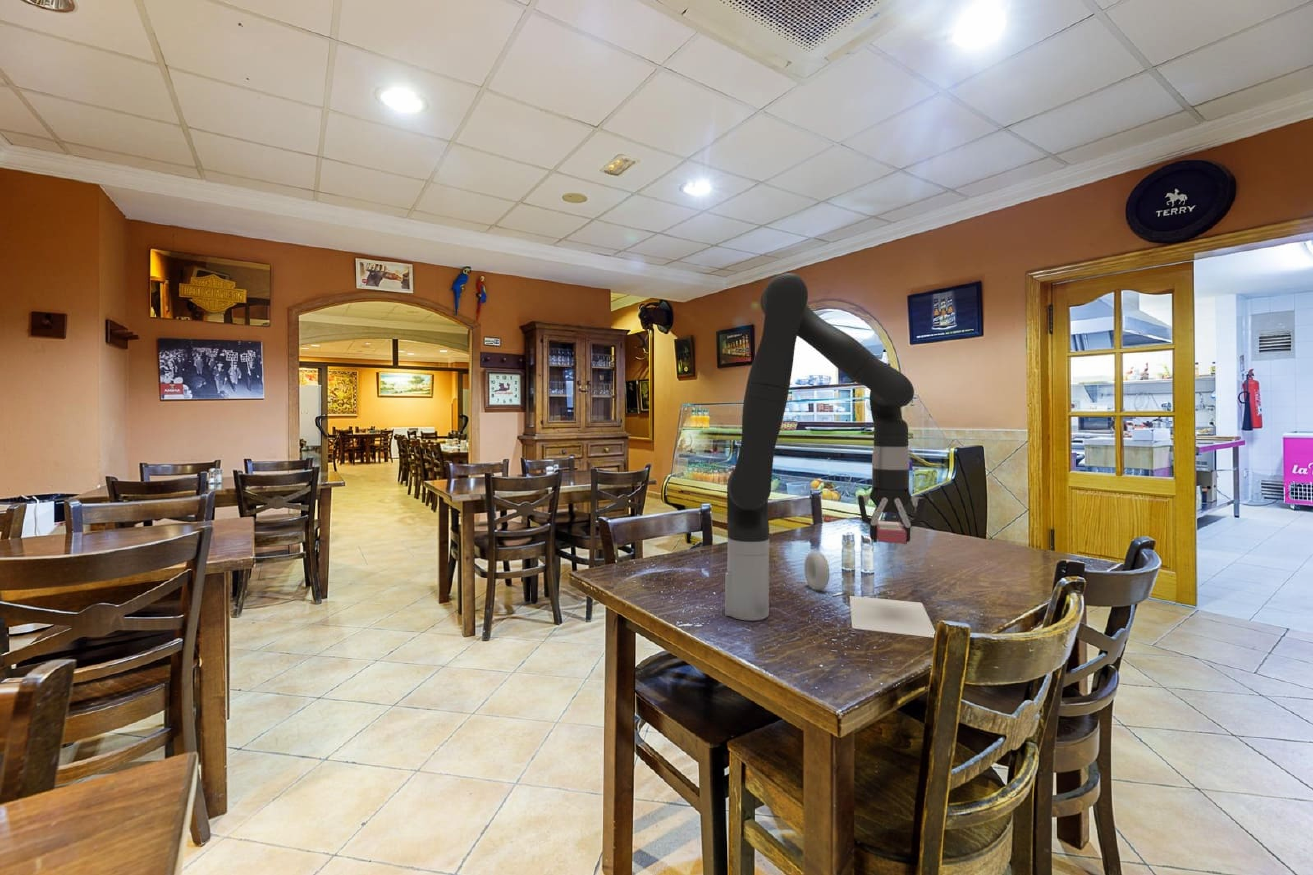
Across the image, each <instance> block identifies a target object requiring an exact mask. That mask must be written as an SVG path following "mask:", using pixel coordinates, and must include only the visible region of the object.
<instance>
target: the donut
mask: <svg viewBox="0 0 1313 875" xmlns="http://www.w3.org/2000/svg"><path fill="white" fill-rule="evenodd" d="M803 570H804V577H805V580H806V583H807V584H808V586H809V587H810V588H811V589H812V590H813V591H817V592H819V591H820V592H821V591H824V590H826V588H827V586H828V585H829V581H830V567H829V564H828V560H827V559H826V557H825V555H824V554H823V553H822V552H820V551H815V550H814V551H811V552H809V553H808V554H807V556H806V557H805V561H804V568H803Z"/></svg>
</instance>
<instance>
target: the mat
mask: <svg viewBox="0 0 1313 875" xmlns="http://www.w3.org/2000/svg"><path fill="white" fill-rule="evenodd" d="M849 602H850V617H851V629H854V630H864V631H871V632H873V631H874V632H880V633H891V634H900V635H907V636H918V637H924V638H925V637H926V638H932V639H935V638H934V634H935V632H936V630H935V628H934V626H933V623H932V621H931V619H930V617H929V615H928V613H927V611H926V608H925V606H924V605H923V603H922V602H919V601H918V602H917V601H906V600H896V599H888V598H887V599H885V598H876V597H868V596H867V597H864V596H855V595H849Z"/></svg>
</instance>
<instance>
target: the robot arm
mask: <svg viewBox="0 0 1313 875" xmlns="http://www.w3.org/2000/svg"><path fill="white" fill-rule="evenodd" d="M808 298H809V292H808V287H807V285H806V283H805V281H804V280H803V279H802V277H801V276H799V275H797V274H795V273H793V272H792V273H791V272H787V273H783V274H779V275H777V276H776V277H774V278H773V279H772V280H771V281H769V282H768V285H767V286H766V287H765V288H764V290H763V292H762V293H761V297H760V301H759V303H760V308H761V311H762V313H763V314H764V320H763V328H762V334H761V337H760V342H759V344H758V348H757V349H756V352H755V355H754V358H753V360H752V362H751V367H750V370H749V374H748V378H747V382H746V387H745V391H744V397H743V406H742V415H741V416H742V417H741V441H740V447H739V451H738V456H737V459H736V463H735V466H734V470H733V471H731V473H730V475H729V477H728V479H727V484H726V485H727V486H726V489H727V490H726V523H727V524H726V525H727V526H726V527H727V529H726V530H727V531H726V532H727V561H726V562H727V563H726V564H727V565H726V566H727V569H726V572H725V574H724V576H725V577H724V578H725V579H724V580H725V581H724V591H725V592H724V615H725V616H726V617H731V618H734V619H736V620H741V621H761V620H764V619H766V618H768V617H769V613H770V612H769V608H770V605H769V604H770V598H769V597H770V592H769V591H770V524H769V523H770V522H769V511H768V510H769V498H770V496H771V492H772V482H773V480H772V478H773V477H772V476H773V469H774V466H773V465H774V456H775V450H776V446H777V441H778V438H779V435H780V433H781V428H782V424H783V420H784V417H785V411H786V408H787V407H786V406H787V403H788V397H789V393H790V386H791V379H792V372H793V365H794V356H795V349H796V342H797V338H798V337H799V338H800V339H801V340H803V341H804V342H805V343H807V344H808V346H809V345H810V347H812V348H813V349H815V351H817V352H818V353H819V354H821V355H822V356H823V357H824V358H825V359H827V360H828V361H829V363H831V364H832V365H833V366H835V367H836V369H838V370H839V371H840V372H842V373H843V374H844V375H845V376H846V377H847V378H848V379H849V380H851V381H852V382H854V383H856V384H859V385H863V386H864V387H866V388H867V389H868V390H870V392H869V408H870V412H871V413H870V414H871V418H872V424H873V450H872V458H871V459H872V461H871V466H872V467H871V468H872V470H871V472H872V473H871V474H872V475H871V478H872V479H871V482H872V483H871V491H870V492H869V494H858V495H857V502H858V507H859V513H860V517H861V518H860V519H861V521H862V522H863V523H866V524H868V525H869V538H870V540H871V541H873V543H877V542H878V540H877V525H876V523H877V521H879V519H880V517H881V515H882V513H883V514H885V513H886V514H887V513H892V514H899V517H900V519H901V521H902V523H903V525H902V526H903V528H904V529H905V531H906V544H905V545H906V546H907V544H908V543H910V541H911V528H912V527H914V526H919V525H920V524H921V520H922V516H923V512H924V507H925V502H926V500H925V498H923V497H921V496H919V497H917V496H912V495H911V493H910V452H909V425H908V423H907V422H906V421H905V420H904V419H903V417H902V408H903V407H905V406H907V405H908V404H910V403H911V402H912V400H913V398H914V396H915V388H914V386H913V384H912V382H911V381H910V380H909V378H908V377H907V376H906V375H905V374H903V373H902V372H901V371H899V370H897V369H896V368H894V367H893V366H891V365H889V364H888V363H886V362H884V361H882V360H880V358H877V357H876V356H875V355H874V354H873V353H872V352H871V351H870V350H869V349H868V348H866V347H865V346H864V345H863V344H862V343H860V341H858V340H857V339H856V338H854V337H853V336H851V335H850V334H848V333H846V332H844V331H843V330H841V329H840V328H837V327H836V326H834V325H833V324H831V323H829V322H827V321H826V320H824V319H823V318H821V317H820V316H819V315H818V314H816V312H814V311H813V309H811V308H810V307H809V306H808ZM869 500H871V502H873V504H874V506H875V508H874V511H873V512H872V515H871V517H870V516H868V513H867V508H866V505H868V504H869ZM911 502H912V506H914V512H913V517H912V518H911V519H909V517H908V514H907V512H906V510H905V508H906V506H907V505H909V503H911Z"/></svg>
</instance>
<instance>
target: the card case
mask: <svg viewBox="0 0 1313 875" xmlns="http://www.w3.org/2000/svg"><path fill="white" fill-rule="evenodd" d="M876 525H877V542H878V543H891V544H902V545H906V531H905V529H904V528H903V526H904V525H903V524H902V523H901V521H889V520H878V521H877V523H876Z"/></svg>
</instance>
